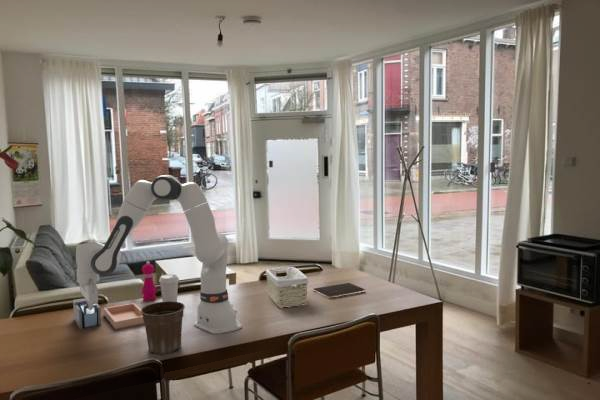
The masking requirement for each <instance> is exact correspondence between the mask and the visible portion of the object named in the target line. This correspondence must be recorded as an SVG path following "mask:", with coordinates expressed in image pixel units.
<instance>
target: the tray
mask: <svg viewBox="0 0 600 400" xmlns="http://www.w3.org/2000/svg"><path fill="white" fill-rule="evenodd" d="M141 309H142V308H140V307H139V306H138V305H137V304H136V303H135V302H132V303H127V304H126V303H125V304H121V305H120V304H119V305H116V306H115V305H114V306H109V307H104V308H103V317H104V318H105V317H106V318H105V319H106V320H107V321H108V323H109V322H110V323H109V324H110V325H111V326H112V327H113V329H114V330H121V329H126V328H127V329H128V328H131V327H136V326H141V325H145V322H144V321H143V315H142V313H141Z"/></svg>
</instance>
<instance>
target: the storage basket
mask: <svg viewBox="0 0 600 400" xmlns="http://www.w3.org/2000/svg"><path fill="white" fill-rule="evenodd" d="M283 273H286V275H285V276H278V275H277V274H283ZM265 275H266V282H267V292H268V296H269V297H270V299H271V300H272V301H273V303H274V304H275V305H276V306H277V307H278V308H279V309H283V308H282V307H288V308H292V307H291V306H298V307H300V306H299V305H303V304H304V306H307V301H308V299H307V297H308V295H307V294H308V283H309V281H308V277H307V275H305V274H304V273H303V272H302V271H300V270H299V269H298V268H296V267H294V266H289V267H288V266H287V267H272V268H267V269H266V270H265Z"/></svg>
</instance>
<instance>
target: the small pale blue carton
mask: <svg viewBox="0 0 600 400" xmlns="http://www.w3.org/2000/svg"><path fill="white" fill-rule="evenodd" d="M79 307H80V309H81V310H82V326H83V327H84V328H88V327H94V326H98V324H97V305H96V304H93V309H92V310H89V309H88V305H87V303H83V304H79Z"/></svg>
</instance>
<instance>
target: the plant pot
mask: <svg viewBox="0 0 600 400" xmlns="http://www.w3.org/2000/svg"><path fill="white" fill-rule="evenodd" d="M185 308H186V306H185V304H184V303H182V302H180V301H177V302H175V301H166V302H162V301H158V302H153V303H150V304H147V305H144V306H143V307H142V308H140V309H141V313H142V315H143V321H144V322H145V324H144V328H145V332H146V333H145V335H146V341H147V349H148V351H149V353H154V354H155V355H165V354H171V353H173V352H175V351H176V350H179V349H180V348H181V346H182V332H183V331H182V329H183V317H184V310H185Z"/></svg>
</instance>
